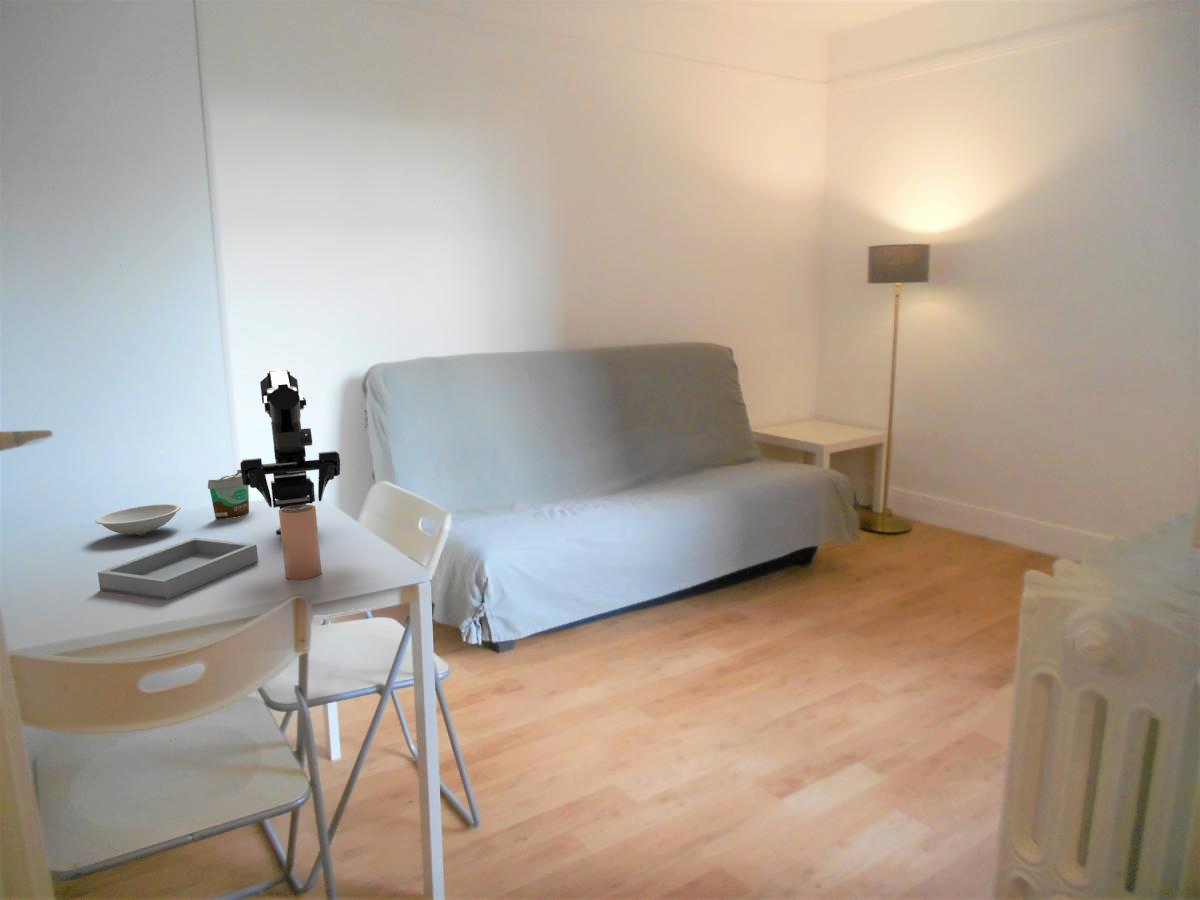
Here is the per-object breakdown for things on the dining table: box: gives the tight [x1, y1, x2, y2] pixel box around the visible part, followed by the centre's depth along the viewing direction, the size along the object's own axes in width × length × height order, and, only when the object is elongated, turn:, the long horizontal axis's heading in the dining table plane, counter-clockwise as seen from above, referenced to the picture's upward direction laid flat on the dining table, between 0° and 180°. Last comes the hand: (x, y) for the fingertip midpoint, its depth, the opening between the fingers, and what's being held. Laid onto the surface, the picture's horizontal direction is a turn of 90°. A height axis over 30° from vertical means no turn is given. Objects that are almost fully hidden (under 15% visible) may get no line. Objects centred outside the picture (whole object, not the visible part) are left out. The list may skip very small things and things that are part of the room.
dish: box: [95, 503, 182, 536], centre depth 191 cm, size 18×14×5 cm
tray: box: [97, 537, 259, 601], centre depth 162 cm, size 22×16×4 cm
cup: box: [278, 504, 323, 581], centre depth 160 cm, size 7×7×13 cm
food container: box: [207, 469, 250, 520], centre depth 205 cm, size 12×6×10 cm, turn 168°
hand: (295, 503), depth 165 cm, fingers open, 9 cm apart
